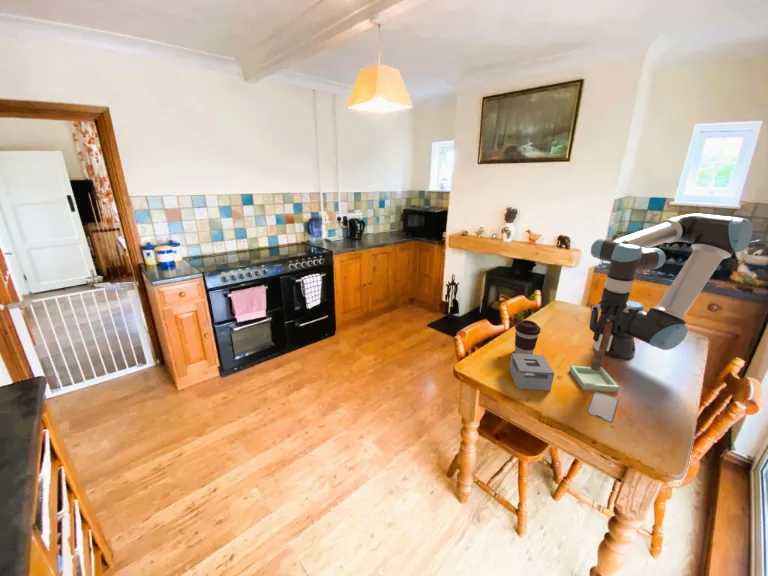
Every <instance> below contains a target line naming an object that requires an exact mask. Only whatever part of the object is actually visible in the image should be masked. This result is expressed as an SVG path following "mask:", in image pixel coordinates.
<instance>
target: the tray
mask: <svg viewBox="0 0 768 576" xmlns="http://www.w3.org/2000/svg"><path fill="white" fill-rule="evenodd" d="M569 372H570V374H571V375H572V376H573V378H574V380H575V381H576V382H577V384H578V385H579V386H580V388H581V390H582V391H591V392H592V391H593V392H595V391H598V392H606V393H607V392H609V393H619V389H620V385H618V383H617V382H616V381H615V380H614V379H613V378H612V376H611V375H610V374H609V373H608V372H607V370H605V369H604V367H601V368H600V371H595V370H592V369H591V366H583V365H582V366H580V365H579V366H578V365H570V367H569Z"/></svg>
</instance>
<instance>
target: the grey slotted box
mask: <svg viewBox="0 0 768 576" xmlns="http://www.w3.org/2000/svg"><path fill="white" fill-rule="evenodd" d="M509 362H510V363H509V367H508V368H509V369H508V370H509V373H510V375H511V377H512V378H511V379H512V380H513V382H514V385H515V387H516V389H519V390H531V391H546V392H547V391H548V392H551V390H552V387H553V382H554V377H555V372H554V370H553V369H552V366H551V365H550V364H549V362H548V361H547V358H546V357H545V355H544V354H517V353H515V352H514V353H513V352H511V356H510V361H509Z"/></svg>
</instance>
